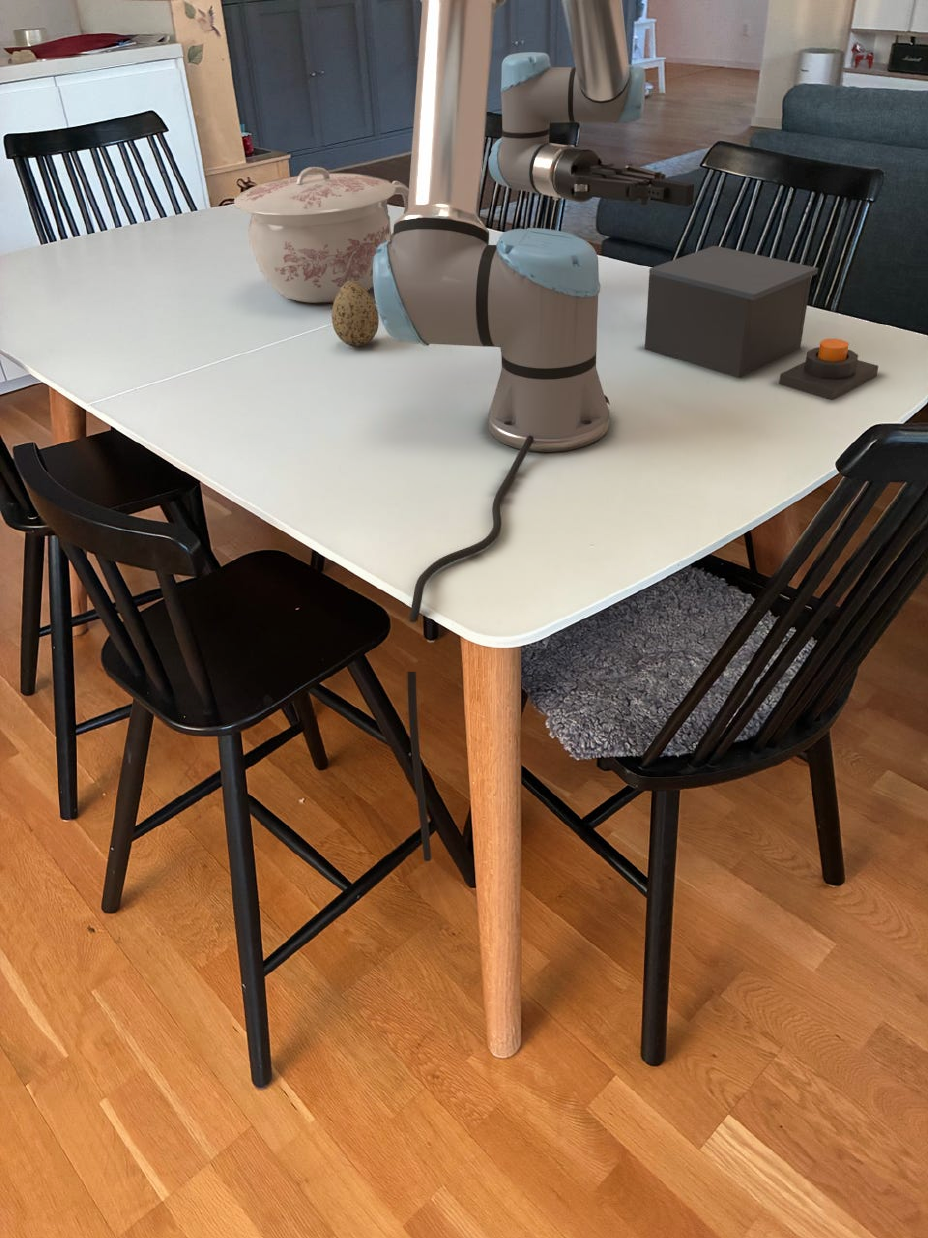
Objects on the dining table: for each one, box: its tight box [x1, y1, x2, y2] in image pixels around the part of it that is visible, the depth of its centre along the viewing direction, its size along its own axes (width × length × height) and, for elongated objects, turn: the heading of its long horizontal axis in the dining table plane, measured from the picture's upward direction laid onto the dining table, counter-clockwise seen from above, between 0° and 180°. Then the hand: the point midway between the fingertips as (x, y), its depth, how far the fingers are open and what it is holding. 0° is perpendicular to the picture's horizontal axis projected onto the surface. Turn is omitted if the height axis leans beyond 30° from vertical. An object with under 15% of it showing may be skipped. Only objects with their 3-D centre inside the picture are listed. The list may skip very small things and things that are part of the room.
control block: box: [778, 346, 879, 401], centre depth 131 cm, size 8×11×4 cm
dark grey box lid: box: [648, 245, 819, 300], centre depth 136 cm, size 18×15×1 cm
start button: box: [818, 338, 850, 361], centre depth 130 cm, size 4×4×2 cm
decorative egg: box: [331, 281, 380, 348], centre depth 149 cm, size 7×7×10 cm
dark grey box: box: [644, 274, 813, 379], centre depth 140 cm, size 17×15×11 cm
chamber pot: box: [233, 166, 409, 304], centre depth 168 cm, size 28×28×21 cm
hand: (690, 195), depth 136 cm, fingers closed
